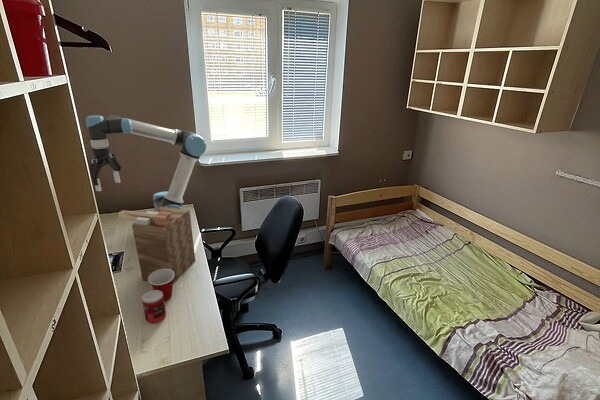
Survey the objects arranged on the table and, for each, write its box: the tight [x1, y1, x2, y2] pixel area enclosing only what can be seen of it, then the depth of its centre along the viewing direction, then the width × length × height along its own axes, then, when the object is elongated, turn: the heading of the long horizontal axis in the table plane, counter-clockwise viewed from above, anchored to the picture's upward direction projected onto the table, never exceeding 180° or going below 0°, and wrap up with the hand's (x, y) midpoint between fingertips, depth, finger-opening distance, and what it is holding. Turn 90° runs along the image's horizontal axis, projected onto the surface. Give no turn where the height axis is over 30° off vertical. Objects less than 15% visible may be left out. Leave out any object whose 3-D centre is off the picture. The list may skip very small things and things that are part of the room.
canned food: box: [141, 289, 167, 324], centre depth 134 cm, size 8×8×11 cm
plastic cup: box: [147, 269, 174, 303], centre depth 145 cm, size 11×11×12 cm
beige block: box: [118, 209, 173, 226], centre depth 152 cm, size 6×25×4 cm, turn 78°
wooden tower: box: [131, 207, 196, 285], centre depth 162 cm, size 22×16×30 cm
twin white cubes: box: [134, 210, 159, 226], centre depth 152 cm, size 9×6×2 cm, turn 168°
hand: (108, 186), depth 174 cm, fingers open, 13 cm apart
